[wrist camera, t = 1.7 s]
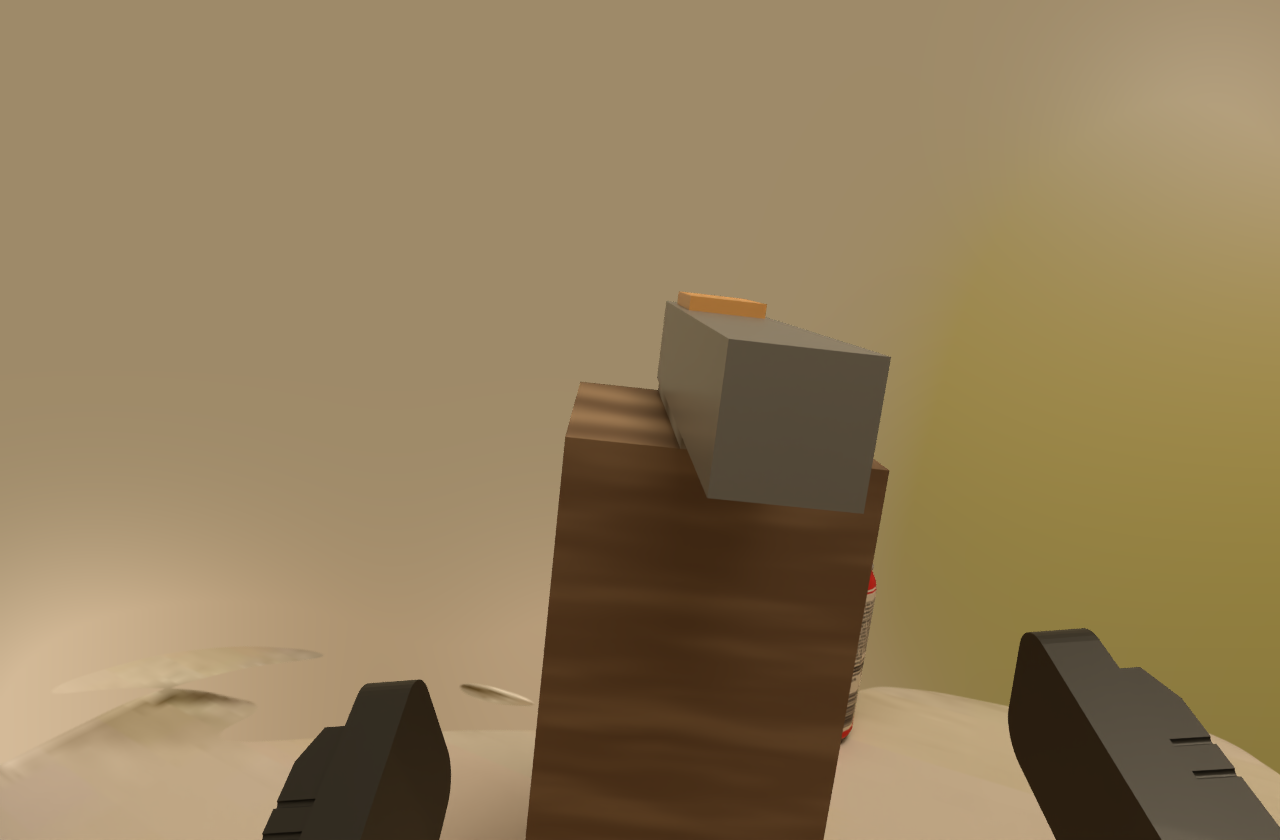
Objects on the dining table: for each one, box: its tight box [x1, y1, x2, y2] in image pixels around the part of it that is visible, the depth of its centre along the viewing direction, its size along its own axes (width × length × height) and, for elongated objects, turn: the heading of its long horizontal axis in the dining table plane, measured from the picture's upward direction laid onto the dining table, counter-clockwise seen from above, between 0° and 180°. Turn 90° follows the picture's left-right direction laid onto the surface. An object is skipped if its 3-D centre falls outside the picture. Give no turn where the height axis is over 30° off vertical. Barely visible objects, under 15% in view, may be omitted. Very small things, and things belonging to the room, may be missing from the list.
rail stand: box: [526, 382, 889, 840], centre depth 38 cm, size 14×12×33 cm
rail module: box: [657, 292, 891, 514], centre depth 30 cm, size 22×4×5 cm, turn 2°
